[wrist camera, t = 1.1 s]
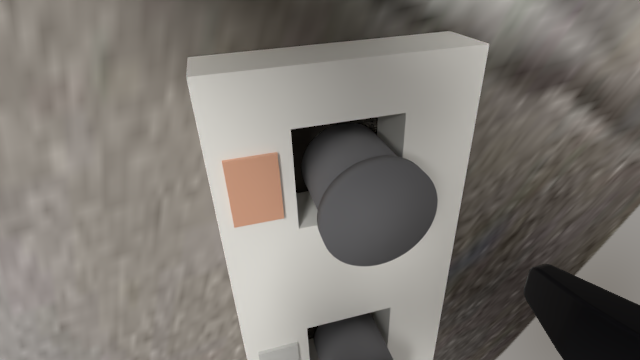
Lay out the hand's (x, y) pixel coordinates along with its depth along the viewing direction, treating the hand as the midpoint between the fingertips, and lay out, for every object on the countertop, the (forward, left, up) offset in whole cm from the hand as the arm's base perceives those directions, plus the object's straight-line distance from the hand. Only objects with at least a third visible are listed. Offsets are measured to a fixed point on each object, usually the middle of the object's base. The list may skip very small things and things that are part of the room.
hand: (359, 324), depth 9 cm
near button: (-1, -3, -10) cm, 10 cm away
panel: (-7, -3, -12) cm, 14 cm away
